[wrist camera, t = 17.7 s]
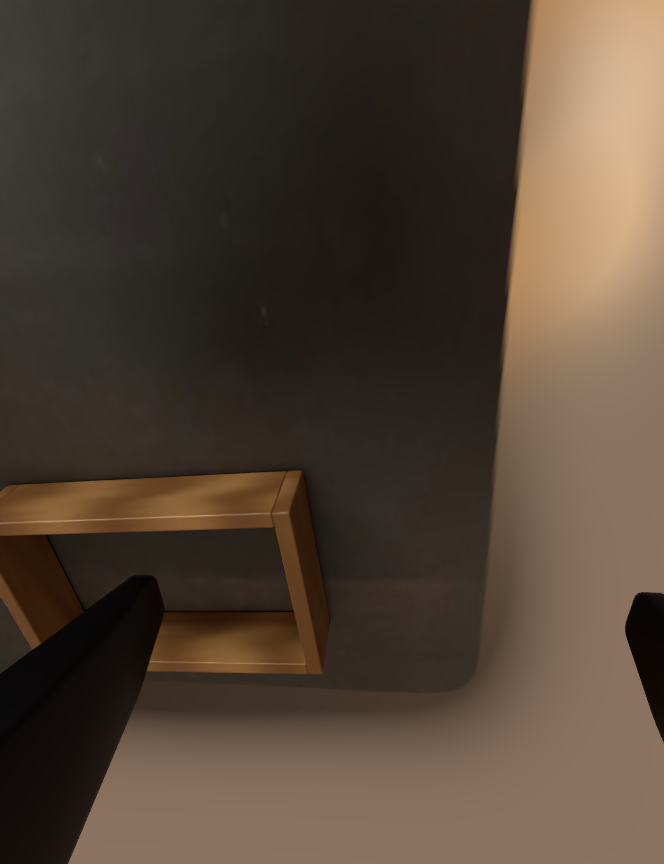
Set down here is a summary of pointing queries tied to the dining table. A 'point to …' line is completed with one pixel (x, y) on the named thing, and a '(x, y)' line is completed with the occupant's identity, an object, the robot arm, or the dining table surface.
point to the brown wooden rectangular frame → (167, 511)
